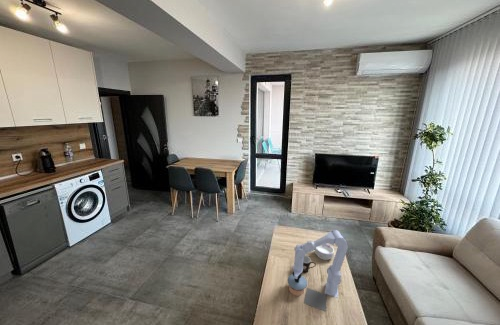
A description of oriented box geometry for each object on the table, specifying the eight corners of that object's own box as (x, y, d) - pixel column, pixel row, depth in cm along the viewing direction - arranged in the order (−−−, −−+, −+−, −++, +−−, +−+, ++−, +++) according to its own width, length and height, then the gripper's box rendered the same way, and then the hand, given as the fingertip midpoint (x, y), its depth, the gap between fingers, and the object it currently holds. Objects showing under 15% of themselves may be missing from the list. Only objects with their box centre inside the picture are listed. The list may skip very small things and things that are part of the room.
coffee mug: (296, 270, 156) (297, 259, 153) (301, 264, 162) (302, 253, 160) (310, 278, 148) (311, 267, 146) (315, 272, 154) (316, 260, 152)
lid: (290, 272, 145) (290, 267, 144) (308, 278, 140) (309, 273, 139) (285, 285, 134) (285, 280, 133) (305, 292, 128) (305, 287, 128)
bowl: (290, 282, 145) (290, 277, 144) (304, 286, 141) (305, 282, 140) (287, 293, 136) (287, 288, 135) (302, 298, 132) (303, 293, 131)
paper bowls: (330, 251, 179) (331, 243, 177) (335, 263, 164) (336, 254, 162) (312, 249, 180) (313, 241, 178) (316, 261, 165) (317, 253, 163)
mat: (307, 288, 140) (307, 287, 140) (327, 295, 135) (327, 294, 135) (303, 303, 128) (303, 303, 128) (325, 312, 123) (325, 311, 123)
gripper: (294, 254, 141) (293, 270, 145) (290, 268, 129) (288, 286, 132) (305, 257, 139) (303, 274, 142) (301, 271, 126) (299, 289, 129)
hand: (297, 280), depth 137 cm, fingers closed on lid, 3 cm apart
